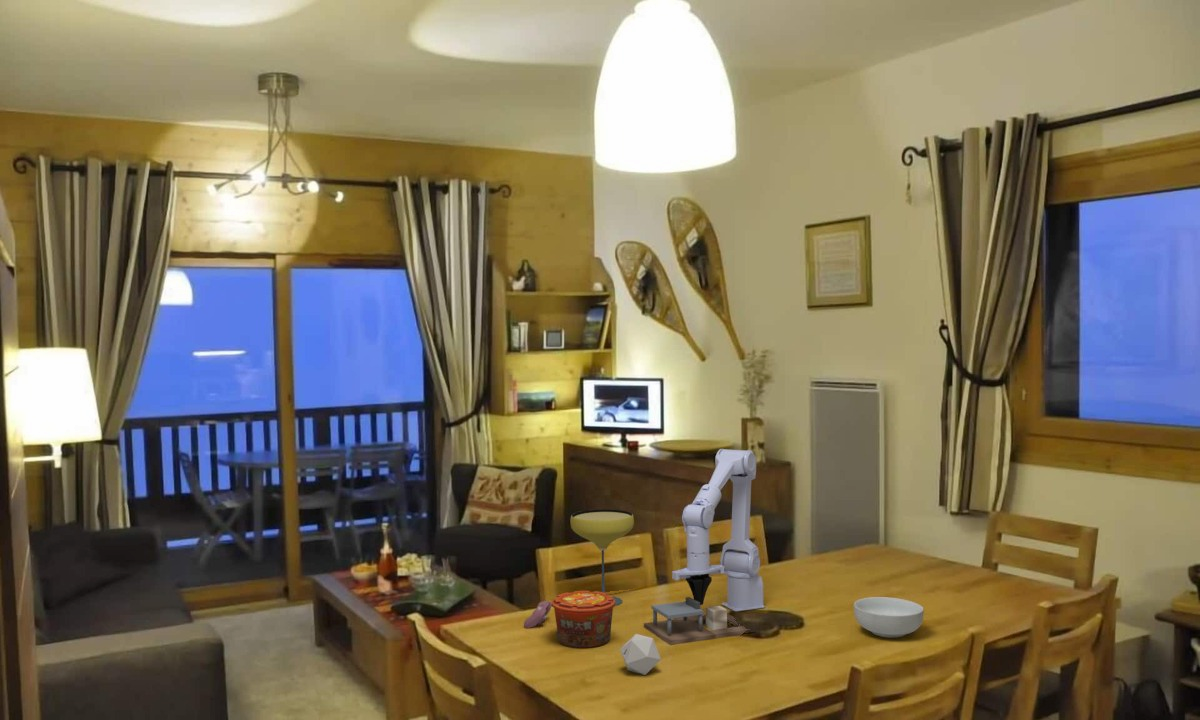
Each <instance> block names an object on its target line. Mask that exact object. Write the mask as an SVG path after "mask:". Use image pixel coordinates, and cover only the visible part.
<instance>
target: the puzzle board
mask: <svg viewBox="0 0 1200 720" xmlns="http://www.w3.org/2000/svg"><path fill="white" fill-rule="evenodd" d="M734 617H735V616H733V615H731V614H730V613H728V612H727V621H730V622H733V623H735V624H737V622H736V621H735V620H736V619H735V618H736V617H735V618H734ZM734 619H735V620H734ZM703 624H706V614H702V625H703ZM737 625H738V624H737ZM643 628H645V629H646V630H648V631H649V632H651V633H652V634H653V635H655V636H656V637H658V639H661V640H662V641H664V642H665V643H667V644H668V645H670V646H672V645H678V644H686V643H692V642H699V641H707V640H713V639H714V640H715V639H721V638H728V637H733V636H734V637H735V636H741V635H742V634H743V633H744V632H745V631H747V630H750V629H746V628H745V627H744V626H740V624H739V626H738V627H734V626H732V627H727V628H724V629H716V630H711V629H710V630H709V629H708V628H707V627H704V626H702V630H699V629H698V616H694V617H687V621H684V620H683V618H680V619H673V618H671V629H672V634H668V630H667V619H666V620H657V625H653V621H651V622H650V621H649V622H645V623H643ZM743 635H744V634H743ZM743 635H742V636H743Z"/></svg>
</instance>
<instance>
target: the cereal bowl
mask: <svg viewBox="0 0 1200 720" xmlns="http://www.w3.org/2000/svg"><path fill="white" fill-rule="evenodd" d="M853 611H854V612H853V613H854V617H855V620H856V621H857V623H858V624H859V625H860V626H861V627H862V628H864V629H865V630H867V631H870V632H871V633H872V634H873V635H875V636H878V637H882V638H889V639H893V638H894V639H896V638H902V637H904V636H905V635H908V634H911V633H913V632H915V631H917V630H918V629H919V628H921V626H922V623H923V620H924V613H925V611H924V607H923V606H922V605H921V604H919V603H917V602H914V601H911V600H907V599H903V598H897V597H886V596H874V597H873V596H872V597H871V596H870V597H864V598H860V599H857V600H856V601H855V602H854V603H853Z"/></svg>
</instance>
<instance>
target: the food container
mask: <svg viewBox="0 0 1200 720" xmlns="http://www.w3.org/2000/svg"><path fill="white" fill-rule="evenodd" d="M613 597H614V596H613ZM613 597H612V595H611V594H609V595H608V593H607V592H606V593H604V592H601V591H597V590H595V591H590V590H574V591H573V592H568V591H566V592H564V593H563V592H562V593H560V594H558V595H557V596H556V597H554V599H552V600H551V604H552V606H551V607H552V608H553V610H554V616H555V617H554V618H555V624H556V625H555V626H556V630H557V631H556V632H557V639H558V642H559V643H560V644H561V645H563V646H564V647H568V648H573V649H593V648H599V647H601V646H605V645H607V644H608V643H609V642H610V640H611V630H612V620H613V613H614V612H613V611H614V608H615V606H614V605H615V603H616V601H615V600H614V598H613Z"/></svg>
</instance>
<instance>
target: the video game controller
mask: <svg viewBox="0 0 1200 720" xmlns="http://www.w3.org/2000/svg"><path fill="white" fill-rule="evenodd" d="M552 607H553V606H552V602H550V601H546V600H544V601H540V602H539V603H538V604H537V606H536V609H534V611H533V612H532V614H531V615H530V616H529V617H528V618H526V619H525V620H524V623H523V627H524V628H525V629H529V628H534V627H535V626H541V624H542V623H543V622H544V621H546V620H547V617H548V614H549V612H550V611H551V609H552Z"/></svg>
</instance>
